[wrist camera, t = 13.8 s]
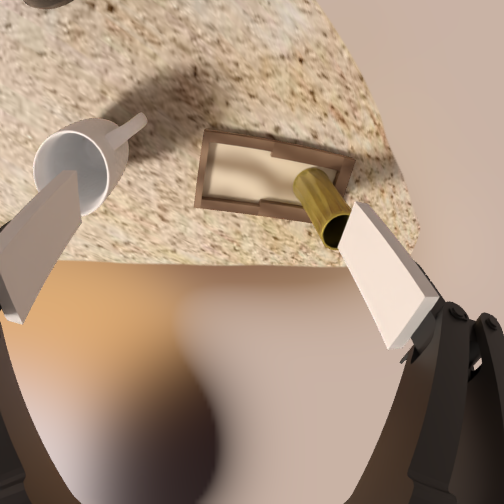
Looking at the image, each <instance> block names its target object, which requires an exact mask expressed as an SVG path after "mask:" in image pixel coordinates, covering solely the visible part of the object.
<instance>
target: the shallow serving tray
mask: <svg viewBox="0 0 504 504" xmlns="http://www.w3.org/2000/svg"><path fill="white" fill-rule="evenodd" d="M355 161H356V160H354V159H353V158H352V157H348V156H344V155H340V154H336V153H332V152H328V151H324V150H320V149H315V148H311V147H306V146H302V145H297V144H292V143H287V142H282V141H277V140H272V139H266V138H261V137H255V136H249V135H243V134H236V133H230V132H223V131H215V130H208V129H205V130H204V135H203V142H202V148H201V155H200V162H199V170H198V177H197V185H196V193H195V202H194V208H203V209H211V210H219V211H227V212H235V213H243V214H251V215H258V216H265V217H273V218H280V219H287V220H294V221H300V222H307V223H312V222H311V220H310V218H309V216H308V214H307V213H306V211H305V210H304V208H303V206H302V204H301V203H300V201H299V200H298V199H297V198H296V196H295V195H294V192H293V183H294V180H295V178H296V177H297V175H298V174H299V173H300V172H302V171H303V170H306V169H309V168H317V169H320V170H322V171H324V172H325V173H326V174H327V175H328V177H329V179H330V181H331V182H332V183H333V185H334V186H335V188H336V189H337V191H338V192H339V194H340V195H341V196H342V198H343V197H344V194H345V191H346V188H347V185H348V182H349V179H350V176H351V173H352V170H353V167H354V164H355Z"/></svg>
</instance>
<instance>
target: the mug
mask: <svg viewBox="0 0 504 504" xmlns="http://www.w3.org/2000/svg"><path fill="white" fill-rule="evenodd" d="M146 124H147V118H146V116H145V115H144V114H143V113H142V112H140V113H138V114H137V115H135V116H134V117H133V118H132V119H130V120H129V121H128V122H126V123H125V124H123V125H121V126H120V127H119V126H118V125H117V124H115V123H114V122H112V121H110V120H106V119H102V118H90V119H84V120H80V121H78V122H74V123H73V124H70V125H68V126H65V127H64V128H62V129H60V130H59V131H57V132H55V133H53V134H52V135H50V136H49V137H48V138H46V139H45V140H44V142H43V143H42V144H41V145H40V147H39V149H38V151H37V153H36V156H35V159H34V164H33V176H34V181H35V185H36V188H37V190H38V192H40V191H41V190H42V189H43V188H44V187H45V186H46V185H47V184H48V183H49V182H51V181H52V180H53V179H54V178H55V177H56V176H57V175H58V174H60V173H61V172H62V171H63V170H74V171H77V180H78V192H79V203H80V212H81V217H82V216H85V215H88V214H90V213H92V212H94V211H95V210H97V209H98V208H99V207H100V206H101V205H102V203H103V202H104V201H105V200H106V198H107V197H108V196H109V195H110V193H111V192H112V190H113V189H114V188H115V186H116V185H117V183H118V181H119V180H120V179H121V176H122V175H123V172H124V171H125V168H126V165H127V161H128V156H129V145H128V139H129V138H130V137H132V136H133V135H134V134H136V133H137V132H138V131H140V130H141V129H142V128H143V127H144V126H145V125H146Z"/></svg>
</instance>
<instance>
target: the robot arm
mask: <svg viewBox="0 0 504 504" xmlns="http://www.w3.org/2000/svg"><path fill="white" fill-rule="evenodd" d="M23 1H24V2H25V3H26V4H27V5H29V6H31V7H34V8H40V9H53V8H57V7H60V6H63V5H65V4H67V3H69V2H71V1H73V0H23ZM81 223H82V220H81V212H80V203H79V192H78V180H77V171H74V170H63V171H62V172H61V173H60V174H58V175H57V176H56V177H55V178H54V179H53V180H52V181H51V182H49V183H48V184H47V185H46V186H45V187H44V188H43V189H42V190H41V191H40V192H39V193H38V194H37V195H36V196H35V197H34V198H33V199H32V200H31V201H30V202H29V203H28V204H27V205H26V206H25V207H24V208H23V209H22V210H21V211H20V212H19V213H18V214H17V215H16V216H15V217H14V218H13V219H12V220H10V221H9V222H7V223H6V224H4V225H3V226H2V227H1V228H0V310H1V309H2V311H3V312H4V315H5V317H6V319H7V320H8V321H12V322H15V323H19V324H23V323H24V321H25V319H26V317H27V315H28V313H29V311H30V309H31V307H32V305H33V303H34V301H35V299H36V297H37V295H38V293H39V292H40V290H41V288H42V286H43V284H44V282H45V280H46V279H47V277H48V275H49V274H50V272H51V270H52V268H53V267H54V265H55V264H56V262H57V260H58V259H59V257H60V255H61V254H62V252H63V250H64V249H65V247H66V246H67V244H68V243H69V241H70V240H71V238H72V236H73V235H74V233H75V232H76V230H77V229H78V227H79V226H80V225H81ZM337 248H338V250H339V251H340V253H341V255H342V257H343V259H344V261H345V263H346V265H347V267H348V268H349V270H350V272H351V274H352V276H353V278H354V280H355V282H356V284H357V286H358V288H359V290H360V292H361V294H362V296H363V298H364V300H365V302H366V304H367V306H368V308H369V310H370V312H371V314H372V316H373V318H374V321H375V323H376V325H377V327H378V329H379V331H380V334H381V335H382V338H383V340H384V342H385V344H386V347H387V349H399V348H403V347H404V346H405V344H406V343H407V342H408V340H409V339H410V338H411V339H412V341H413V343H414V345H413V346H412V348H411V349H410V350H409V351H408V352H407V353H406V355H405V356H404V357H403V358H402V360H401V361H400V363H401V364H402V363H403V362H404V361H405V360H407V361H406V364H405V368H404V371H403V374H402V377H401V381H400V384H399V387H398V390H397V393H396V396H395V399H394V401H393V404H392V407H391V410H390V412H389V415H388V418H387V420H386V423H385V426H384V428H383V430H382V433H381V435H380V438H379V440H378V442H377V445H376V447H375V449H374V452H373V454H372V456H371V458H370V460H369V462H368V465H367V467H366V468H365V471H364V473H363V475H362V477H361V479H360V480H359V482H358V484H357V486H356V488H355V490H354V492H353V494H352V495H351V497H350V498H349V499H348V500H347V501H346V502H345V503H344V504H504V334H503V331H502V328H501V326H500V324H499V323H498V321H497V319H496V318H495V317H494V316H492V315H490V314H488V313H482V314H481V315H480V316H479V318H478V319H477V321H474V320H471V319H469V317H468V315H467V314H466V312H465V311H464V310H463V309H462V308H461V307H460V306H459V305H457V304H455V303H453V302H445V300H444V299H443V298H442V296H441V295H440V293H439V292H438V290H437V289H436V288H435V286H434V285H433V283H432V282H430V279H429V278H428V276H427V275H425V272H424V271H423V269H422V268H421V267H420V266H419V265H418V264H417V263H416V262H415V261H414V260H413V259H412V258H411V256H410V255H409V253H408V252H407V251H406V250H405V248H404V247H403V246H402V244H401V243H400V242H399V241H398V239H397V238H396V237H395V236H394V234H393V233H392V232H391V231H390V229H389V228H388V227H387V226H386V225H385V223H384V222H383V221H382V220H381V219H380V217H379V216H378V215H377V214H376V213H375V211H374V210H373V209H372V208H371V207H370V206H369V204H366V203H361V202H356V201H355V203H354V205H353V208H352V211H351V214H350V216H349V219H348V222H347V224H346V227H345V229H344V232H343V235H342V237H341V240H340V242H339V245H338V247H337ZM480 358H482V364H481V365H480V366H479V367H478V368H477V369H476V370H475V371H474V367H473V365H474V364H475V363H476V362H477V361H478V360H479V359H480ZM0 504H81V503H80V502H79V501H78V500H77V499H76V498H75V497H74V496H73V495H72V493H71V492H70V490H69V489H68V487H67V486H66V484H65V482H64V481H63V479H62V477H61V476H60V474H59V472H58V471H57V469H56V467H55V465H54V463H53V462H52V460H51V458H50V456H49V454H48V452H47V450H46V448H45V447H44V445H43V443H42V441H41V438H40V436H39V434H38V432H37V430H36V428H35V426H34V423H33V421H32V419H31V417H30V414H29V412H28V409H27V407H26V404H25V402H24V399H23V397H22V394H21V391H20V388H19V385H18V383H17V380H16V377H15V374H14V371H13V367H12V364H11V361H10V357H9V354H8V350H7V346H6V343H5V339H4V335H3V330H2V326H1V323H0Z"/></svg>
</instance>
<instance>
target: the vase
mask: <svg viewBox="0 0 504 504" xmlns="http://www.w3.org/2000/svg"><path fill="white" fill-rule="evenodd" d="M293 192H294V195H295V196H296V198H297V199H298V200H299V201H300V203H301V204H302V206H303V208H304V210H305V211H306V213H307V214H308V216H309V218H310V220H311V222H312V223H313V225H314V227H315V229H316V231H317V233H318V234H319V236H320V238H321V240H322V242H323V244H324V245H325V246H326V247H327V248H329V249H331V250H338V248H337V247H338V245H339V242H340V240H341V237H342V235H343V232H344V229H345V227H346V224H347V222H348V219H349V216H350V214H351V211H352V209H351V208H350V207H349V206H348V204H347V203H346V202H345V201H344V199H343V198H342V196H341V195H340V194H339V192H338V191H337V189H336V188H335V186H334V185H333V183H332V182H331V181H330V179H329V177H328V175H327V174H326V173H325V172H324V171H322V170H320V169H317V168H309V169H306V170H303V171H302V172H300V173H299V174H298V175H297V177H296V178H295V180H294V183H293Z"/></svg>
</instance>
